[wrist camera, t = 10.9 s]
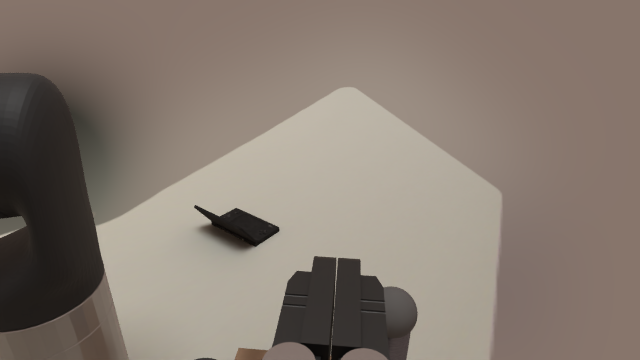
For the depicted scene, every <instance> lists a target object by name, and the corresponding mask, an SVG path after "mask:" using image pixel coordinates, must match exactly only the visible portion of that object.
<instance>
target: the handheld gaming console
mask: <svg viewBox="0 0 640 360" xmlns="http://www.w3.org/2000/svg"><path fill="white" fill-rule="evenodd" d="M194 208H196V209H197V210H198V211H199V212H201V213H202V214H203V215H204V216H206V217H207V218H208V219H210V220H211V222H212V225H214V226H216V227H218V228H220V229H223V230H224V231H226V232H228V233H230V234H232V235H234V236H236V237H238V238H240V239H244V241H246V242H248V243H250V244H251V245H253V246H255V247H256V246H257V245H259V244H260V243H262V242H263V241H265V240H266V239H268V238H270V237H271V236H273V235H274V234H276V233H277V232H279V227H277V226H275V225H273V224H271V223H269V222H266V221H264V220H262V219H260V218H257V217H255V216H253V215H251V214H249V213H246V212H244V211H242V210H240V209H237V208H235V209H233V210H231V211H229V212H228V213H226V214H224V215H222V216H220V217H219V216H217V215H215V214H213V213H211V212H209V211H207V210H204V209H202V208H200V207H198V206H196V205H195V206H194Z"/></svg>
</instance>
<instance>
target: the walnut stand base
mask: <svg viewBox="0 0 640 360" xmlns="http://www.w3.org/2000/svg"><path fill="white" fill-rule="evenodd" d="M267 351H268V350H256V349H245V348H238V351H237V354H236V357H235V360H261V359H263V357H264V355H265V354H266V352H267ZM330 360H331V356H330Z"/></svg>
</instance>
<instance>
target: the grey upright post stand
mask: <svg viewBox="0 0 640 360" xmlns="http://www.w3.org/2000/svg"><path fill="white" fill-rule="evenodd" d="M384 299H385V314H386V324H387V336H388V348H389V356H390V359H391V360H406V358H407V351H408V345H409V339H410V332H411V330H412V329H413V328H414V326H415V324H416V321H417V307H416V304H415V302H414V300H413V298H412V297H411V296H410V295H409V294H408V293H407V292H406V291H404V290H403V289H400V288H397V287H385V288H384Z"/></svg>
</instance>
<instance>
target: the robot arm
mask: <svg viewBox="0 0 640 360" xmlns="http://www.w3.org/2000/svg"><path fill="white" fill-rule="evenodd" d="M17 216H22V217H23V218H24V220H25V222H26V225H27V226H26V227H24V228H22V229H19V230H17V231H15V232H13V233H11V234H9V235H7V236H4V237H2V238H0V360H129V359H128V355H127V351H126V347H125V344H124V340H123V336H122V332H121V328H120V325H119V321H118V317H117V313H116V310H115V306H114V302H113V298H112V295H111V291H110V288H109V284H108V280H107V276H106V272H105V269H104V264H103V261H102V257H101V253H100V248H99V243H98V238H97V232H96V227H95V223H94V218H93V214H92V210H91V206H90V202H89V198H88V193H87V188H86V183H85V178H84V172H83V167H82V161H81V156H80V150H79V144H78V139H77V135H76V131H75V126H74V123H73V119H72V116H71V113H70V110H69V107H68V105H67V103H66V101H65V99H64V97H63V95H62V93H61V92H60V91H59V89H58V88H57V87H56V85H55V84H54V83H52V82H51V81H50V80H48V79H47V78H45V77H44V76H41V75H38V74H31V73H0V219H1V218H9V217H17ZM335 278H336V258H332V257H318V256H314V260H313V267H312V272H305V271H297V272H296V273H295V274H294V275H293V276H292V277H291V278H290V279H289V281H288V283H287V288H286V292H285V296H284V300H283V306H282V309H281V313H280V317H279V321H278V325H277V330H276V334H275V338H274V342H273V345H272V348H271V349H269V350H268V351H267V352H266V354H265V355H264V357H263V359H261V360H330V354H331V360H391V359H390V356H389V348H388V336H387V324H386V314H385V299H384V288H383V286H382V285H381V283H380V282H379V280H378V279H377V277H376V276H363V275H360V259H348V258H338V268H337V281H336V294H335ZM334 299H335V307H334ZM333 315H334V321H333ZM332 328H333V334H332ZM331 341H332V349H331ZM196 360H216V359H212V358H200V359H196Z"/></svg>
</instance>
